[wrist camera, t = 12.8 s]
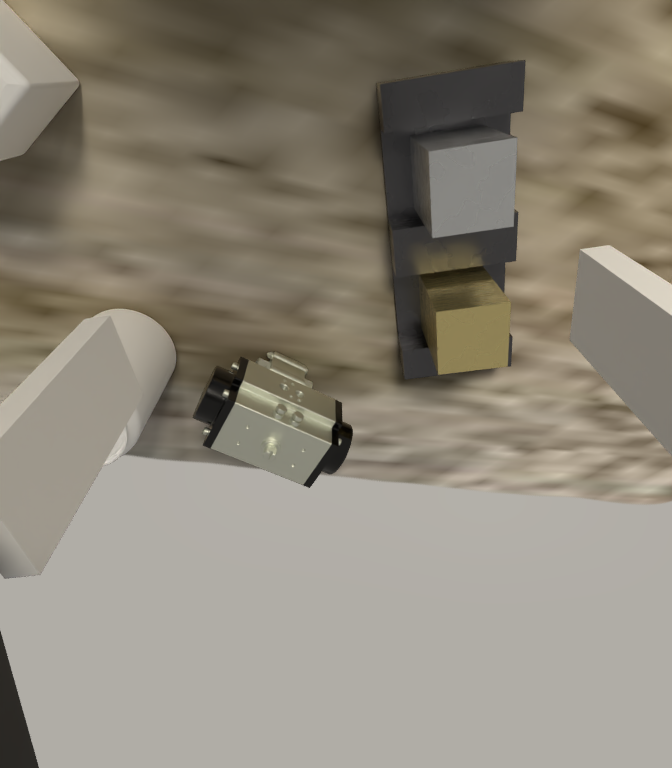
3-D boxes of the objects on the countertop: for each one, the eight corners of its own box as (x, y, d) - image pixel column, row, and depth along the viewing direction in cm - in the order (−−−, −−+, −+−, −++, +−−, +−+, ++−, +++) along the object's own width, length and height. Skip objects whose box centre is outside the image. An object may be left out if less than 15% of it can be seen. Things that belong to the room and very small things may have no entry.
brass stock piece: (418, 271, 41) (436, 312, 34) (480, 263, 40) (510, 302, 34) (421, 327, 43) (438, 374, 37) (479, 319, 43) (507, 366, 36)
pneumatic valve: (326, 414, 49) (325, 505, 39) (213, 363, 46) (179, 448, 36) (355, 371, 46) (362, 456, 36) (237, 314, 43) (208, 390, 33)
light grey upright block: (409, 135, 36) (428, 151, 29) (481, 124, 35) (517, 137, 28) (414, 208, 38) (432, 238, 31) (480, 198, 38) (513, 226, 31)
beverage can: (197, 358, 45) (158, 441, 35) (133, 400, 48) (79, 489, 38) (130, 287, 42) (66, 357, 32) (65, 336, 44) (-15, 416, 34)
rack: (376, 83, 34) (380, 84, 32) (510, 60, 34) (525, 60, 31) (400, 362, 46) (404, 379, 43) (500, 349, 45) (510, 366, 43)
